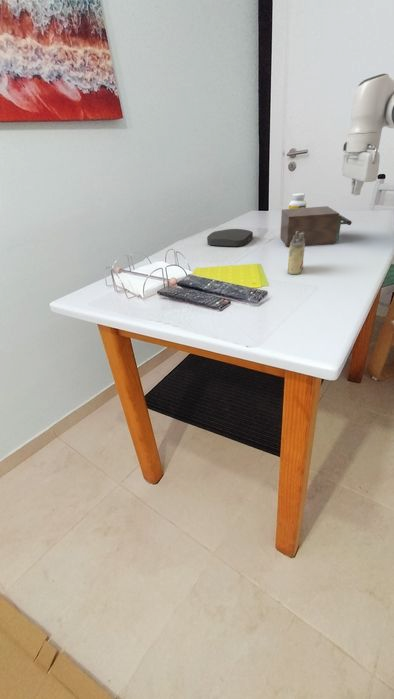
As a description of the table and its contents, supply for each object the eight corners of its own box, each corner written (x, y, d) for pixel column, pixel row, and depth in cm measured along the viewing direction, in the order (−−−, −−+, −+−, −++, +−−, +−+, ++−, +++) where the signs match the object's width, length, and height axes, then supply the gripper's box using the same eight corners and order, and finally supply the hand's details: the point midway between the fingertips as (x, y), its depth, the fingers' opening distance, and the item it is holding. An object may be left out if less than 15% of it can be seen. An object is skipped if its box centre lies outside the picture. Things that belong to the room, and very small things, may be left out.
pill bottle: (294, 228, 132) (296, 196, 126) (284, 225, 138) (286, 194, 131) (307, 225, 134) (310, 193, 128) (297, 222, 140) (299, 192, 133)
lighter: (299, 275, 90) (302, 237, 84) (285, 274, 91) (287, 236, 86) (303, 266, 95) (307, 230, 90) (289, 265, 96) (292, 229, 91)
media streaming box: (203, 245, 121) (203, 237, 119) (219, 235, 131) (219, 227, 130) (242, 247, 115) (242, 239, 113) (255, 236, 126) (255, 228, 124)
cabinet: (323, 234, 121) (327, 206, 116) (334, 244, 111) (339, 213, 106) (280, 237, 122) (281, 209, 117) (286, 247, 112) (288, 216, 107)
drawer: (340, 231, 120) (343, 208, 116) (351, 239, 110) (355, 214, 106) (287, 234, 121) (288, 212, 117) (293, 243, 112) (295, 218, 107)
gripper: (389, 144, 92) (379, 198, 99) (361, 142, 109) (354, 189, 116) (365, 146, 92) (357, 200, 100) (341, 144, 109) (335, 191, 117)
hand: (355, 194), depth 108 cm, fingers closed
